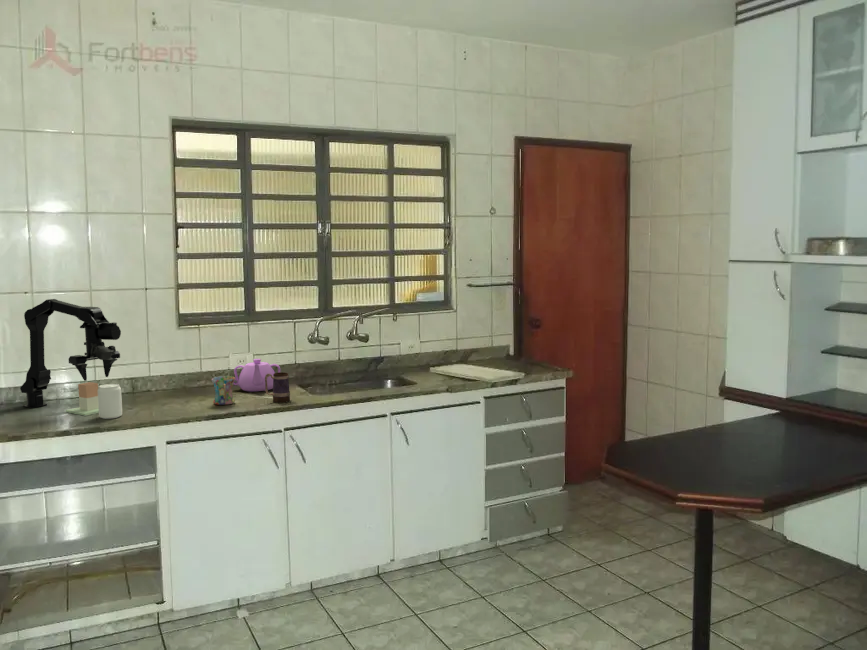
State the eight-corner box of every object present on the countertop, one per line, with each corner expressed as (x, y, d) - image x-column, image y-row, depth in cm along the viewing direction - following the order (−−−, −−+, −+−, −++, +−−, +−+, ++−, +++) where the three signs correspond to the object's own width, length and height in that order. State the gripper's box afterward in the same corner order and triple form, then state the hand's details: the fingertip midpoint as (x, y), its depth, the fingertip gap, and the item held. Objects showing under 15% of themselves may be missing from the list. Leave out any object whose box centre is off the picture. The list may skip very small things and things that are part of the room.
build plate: (66, 412, 285) (66, 410, 285) (94, 406, 295) (94, 404, 295) (85, 415, 279) (84, 413, 279) (113, 409, 289) (112, 407, 289)
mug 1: (211, 402, 302) (210, 377, 300) (234, 400, 305) (234, 375, 304) (213, 408, 290) (212, 382, 289) (237, 406, 294) (236, 380, 292)
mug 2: (288, 398, 308) (287, 370, 307) (292, 402, 301) (291, 373, 300) (263, 401, 304) (262, 372, 302) (267, 404, 297) (266, 375, 296)
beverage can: (113, 419, 272) (112, 388, 271) (94, 418, 274) (92, 387, 273) (126, 414, 280) (125, 384, 279) (108, 413, 282) (106, 383, 280)
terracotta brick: (86, 398, 283) (85, 385, 282) (79, 396, 285) (78, 384, 285) (98, 395, 287) (97, 383, 286) (90, 394, 290) (90, 382, 289)
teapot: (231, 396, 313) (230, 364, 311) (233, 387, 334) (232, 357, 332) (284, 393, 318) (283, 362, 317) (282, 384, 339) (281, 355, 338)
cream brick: (87, 410, 283) (86, 398, 283) (79, 409, 286) (78, 396, 285) (99, 408, 288) (98, 395, 287) (91, 406, 290) (90, 394, 290)
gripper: (83, 343, 274) (86, 384, 276) (127, 337, 290) (129, 376, 292) (66, 341, 280) (69, 382, 282) (110, 336, 296) (112, 374, 298)
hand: (96, 378), depth 288 cm, fingers open, 9 cm apart
